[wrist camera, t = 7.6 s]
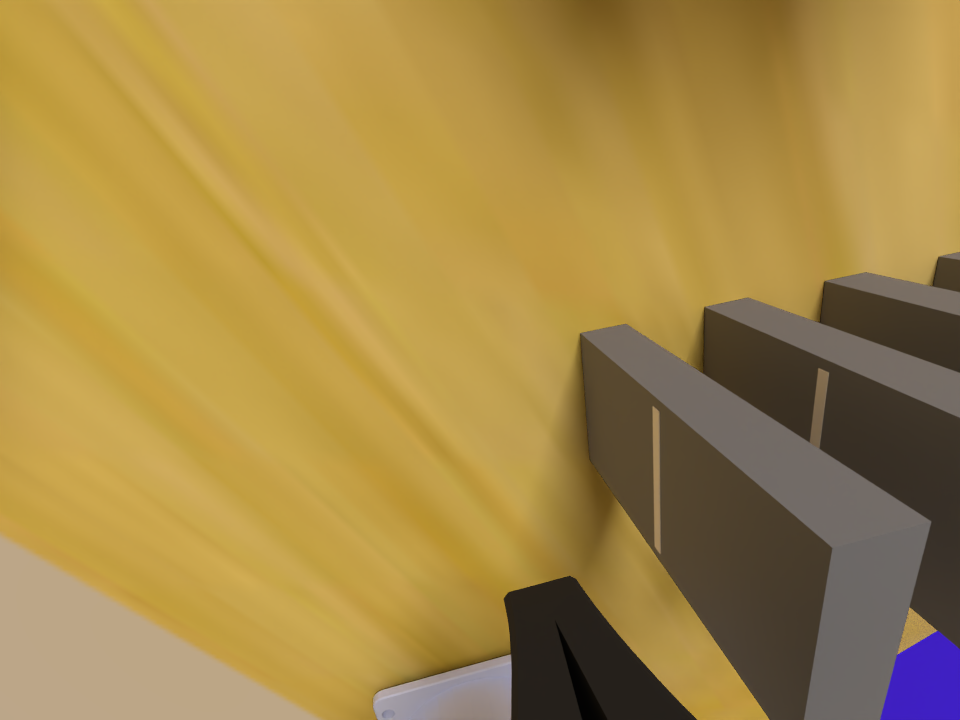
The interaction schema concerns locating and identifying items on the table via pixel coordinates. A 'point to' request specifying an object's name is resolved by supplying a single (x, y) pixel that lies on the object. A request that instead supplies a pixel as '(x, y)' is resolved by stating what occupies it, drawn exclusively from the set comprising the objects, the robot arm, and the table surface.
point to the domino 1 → (755, 530)
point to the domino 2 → (896, 315)
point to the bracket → (925, 682)
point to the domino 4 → (948, 272)
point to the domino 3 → (857, 421)
